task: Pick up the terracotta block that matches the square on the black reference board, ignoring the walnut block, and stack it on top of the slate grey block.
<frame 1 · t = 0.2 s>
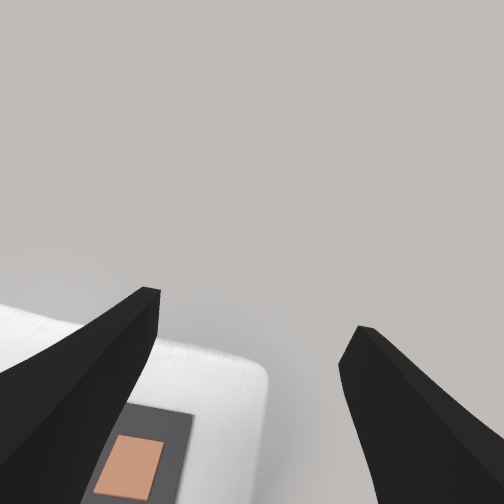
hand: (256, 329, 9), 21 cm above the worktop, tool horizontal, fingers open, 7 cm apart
reference board: (131, 469, 21), on the worktop
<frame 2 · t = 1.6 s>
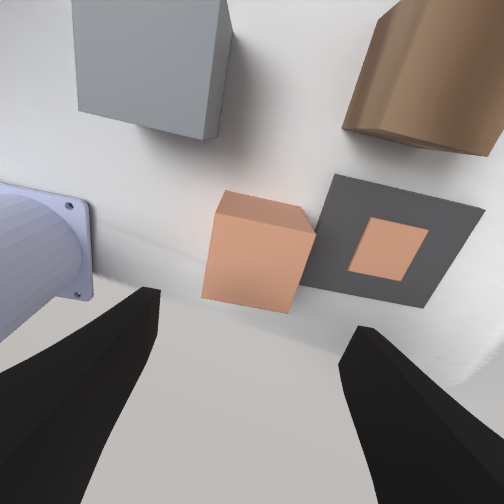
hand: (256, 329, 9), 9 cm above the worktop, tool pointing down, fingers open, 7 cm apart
slate block: (179, 76, 14), on the worktop
walnut block: (400, 90, 14), on the worktop
terracotta block: (254, 232, 18), on the worktop
reference board: (381, 246, 18), on the worktop
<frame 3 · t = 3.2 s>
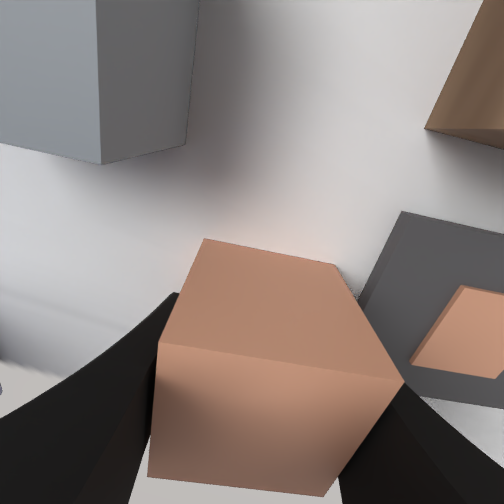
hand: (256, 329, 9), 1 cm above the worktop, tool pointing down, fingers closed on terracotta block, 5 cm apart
slate block: (100, 21, 7), on the worktop
terracotta block: (255, 305, 11), on the worktop, touching gripper
reference board: (466, 324, 11), on the worktop
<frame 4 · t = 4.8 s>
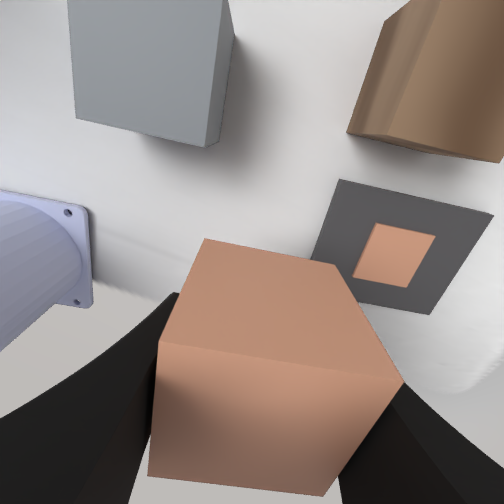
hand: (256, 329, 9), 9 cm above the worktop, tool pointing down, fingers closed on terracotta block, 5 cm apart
slate block: (179, 80, 14), on the worktop
walnut block: (406, 93, 14), on the worktop
terracotta block: (256, 304, 11), point 7 cm above the worktop, touching gripper
reference board: (386, 252, 18), on the worktop
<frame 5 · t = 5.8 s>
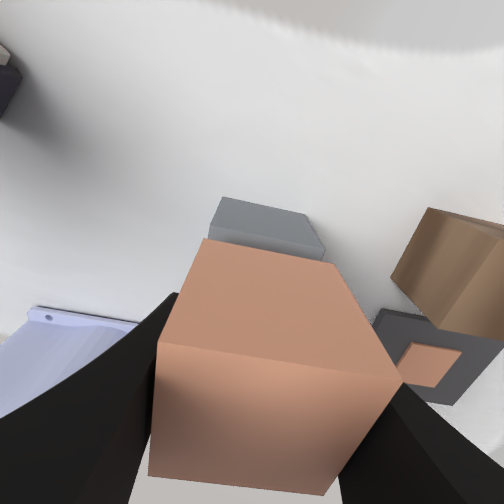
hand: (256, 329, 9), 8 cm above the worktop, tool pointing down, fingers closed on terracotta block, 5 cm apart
slate block: (255, 242, 16), on the worktop
walnut block: (442, 251, 17), on the worktop
terracotta block: (256, 304, 11), point 6 cm above the worktop, touching gripper
reference board: (418, 358, 21), on the worktop
when the fingers open (8 cm above the worktop, at t = 6.6 s): terracotta block drops 1 cm, resting on slate block.
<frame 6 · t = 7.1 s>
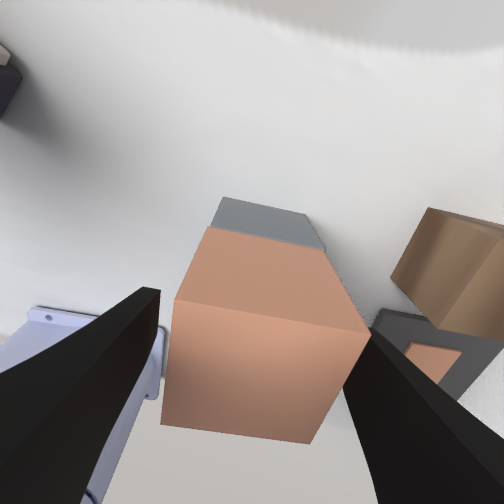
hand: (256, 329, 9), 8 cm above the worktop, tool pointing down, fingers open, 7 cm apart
slate block: (255, 242, 16), on the worktop, touching terracotta block
walnut block: (442, 252, 17), on the worktop
terracotta block: (253, 287, 12), point 5 cm above the worktop, touching slate block
reference board: (418, 358, 21), on the worktop
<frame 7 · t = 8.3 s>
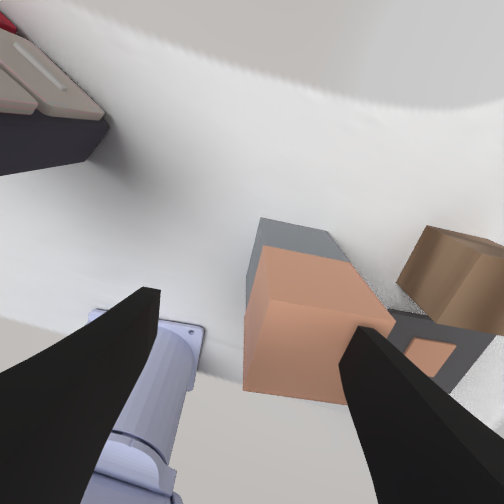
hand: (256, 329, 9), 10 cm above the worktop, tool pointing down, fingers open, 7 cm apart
slate block: (284, 254, 20), on the worktop, touching terracotta block
walnut block: (439, 261, 20), on the worktop
terracotta block: (294, 291, 15), point 5 cm above the worktop, touching slate block
reference board: (419, 352, 24), on the worktop
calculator: (19, 69, 15), on the worktop
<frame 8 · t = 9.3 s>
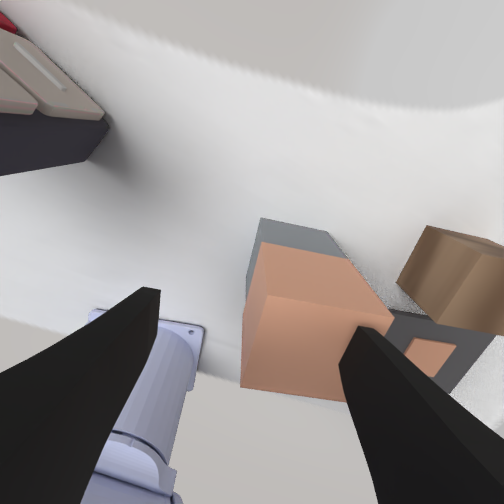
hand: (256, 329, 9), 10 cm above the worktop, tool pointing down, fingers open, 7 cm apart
slate block: (284, 254, 20), on the worktop, touching terracotta block
walnut block: (439, 261, 20), on the worktop
terracotta block: (293, 288, 15), point 5 cm above the worktop, touching slate block
reference board: (419, 352, 24), on the worktop
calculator: (19, 69, 15), on the worktop
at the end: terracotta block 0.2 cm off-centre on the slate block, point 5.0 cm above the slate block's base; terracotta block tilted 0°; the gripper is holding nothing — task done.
